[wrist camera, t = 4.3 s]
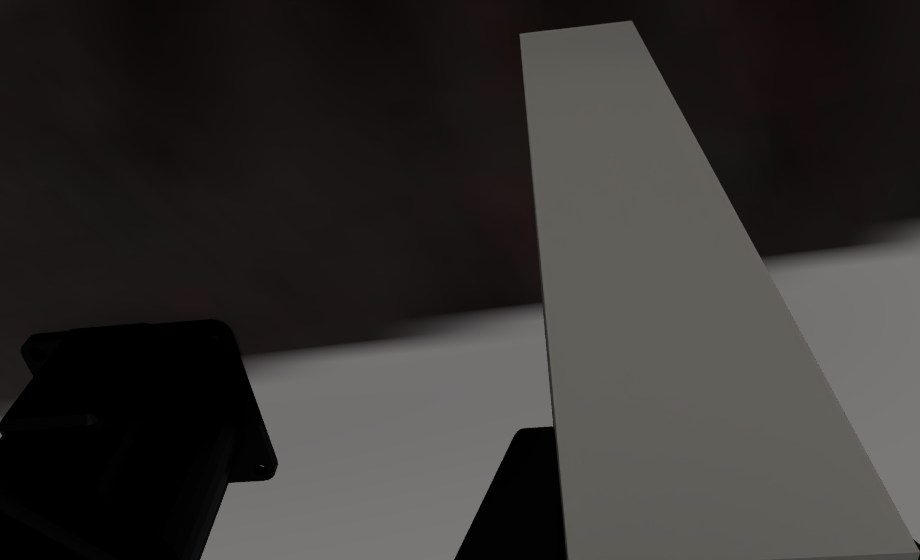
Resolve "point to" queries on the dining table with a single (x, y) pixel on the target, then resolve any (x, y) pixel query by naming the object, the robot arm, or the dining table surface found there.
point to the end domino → (675, 338)
